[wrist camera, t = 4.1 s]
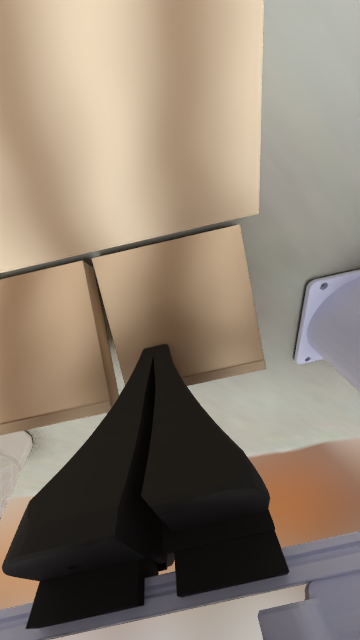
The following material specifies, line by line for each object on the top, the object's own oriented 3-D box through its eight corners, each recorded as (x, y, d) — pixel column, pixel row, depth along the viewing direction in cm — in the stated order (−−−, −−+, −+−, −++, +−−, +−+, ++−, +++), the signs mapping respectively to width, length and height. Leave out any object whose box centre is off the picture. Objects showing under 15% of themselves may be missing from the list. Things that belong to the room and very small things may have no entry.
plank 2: (233, 232, 11) (240, 223, 10) (257, 361, 12) (266, 369, 11) (100, 262, 11) (91, 258, 10) (133, 388, 12) (128, 399, 11)
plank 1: (93, 267, 11) (81, 260, 10) (120, 402, 11) (111, 412, 10) (-36, 297, 11) (-63, 293, 10) (-15, 431, 11) (-40, 444, 10)
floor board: (249, -49, 7) (265, -94, 6) (249, 212, 11) (258, 213, 10) (-241, 76, 7) (-310, 54, 6) (-55, 282, 11) (-76, 290, 10)
